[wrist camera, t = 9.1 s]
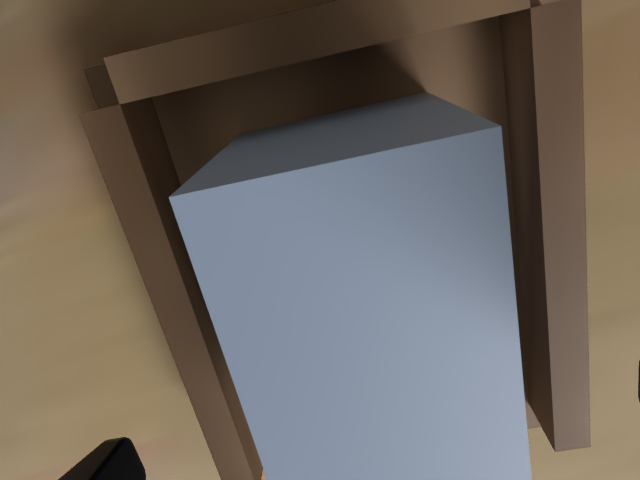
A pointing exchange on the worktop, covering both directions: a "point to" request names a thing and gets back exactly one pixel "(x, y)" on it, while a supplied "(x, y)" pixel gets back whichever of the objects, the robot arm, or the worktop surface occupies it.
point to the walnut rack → (342, 94)
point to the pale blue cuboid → (366, 292)
